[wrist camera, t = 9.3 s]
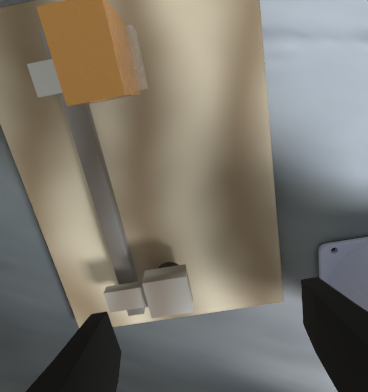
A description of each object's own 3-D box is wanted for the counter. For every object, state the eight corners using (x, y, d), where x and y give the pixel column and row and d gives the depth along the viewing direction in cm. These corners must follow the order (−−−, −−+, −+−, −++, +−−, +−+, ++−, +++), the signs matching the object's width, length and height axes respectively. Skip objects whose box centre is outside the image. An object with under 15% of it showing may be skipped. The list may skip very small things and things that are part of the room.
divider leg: (139, 31, 16) (109, -10, 9) (151, 93, 17) (133, 93, 10) (39, 51, 16) (-52, 25, 10) (58, 111, 17) (-13, 121, 11)
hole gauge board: (251, -40, 16) (270, -78, 12) (279, 293, 23) (296, 328, 19) (-29, 21, 16) (-85, 2, 13) (84, 322, 24) (68, 361, 20)
